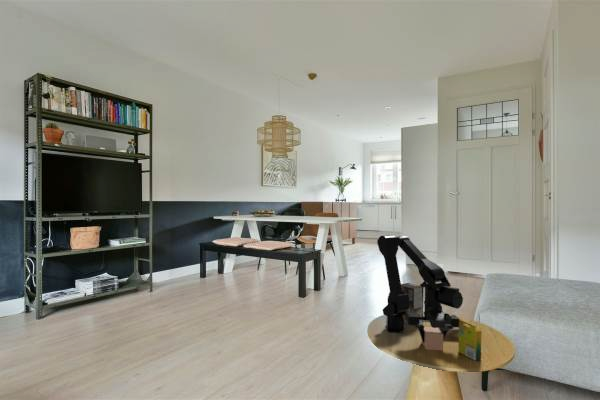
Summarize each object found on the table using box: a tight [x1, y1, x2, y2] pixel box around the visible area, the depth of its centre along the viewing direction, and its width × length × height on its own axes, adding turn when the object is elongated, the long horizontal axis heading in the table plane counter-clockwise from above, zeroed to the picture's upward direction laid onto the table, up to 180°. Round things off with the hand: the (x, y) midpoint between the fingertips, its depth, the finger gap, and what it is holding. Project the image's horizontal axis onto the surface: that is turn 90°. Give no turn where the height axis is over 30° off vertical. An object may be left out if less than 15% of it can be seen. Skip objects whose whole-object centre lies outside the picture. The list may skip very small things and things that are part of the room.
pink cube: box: [421, 326, 444, 351], centre depth 126 cm, size 6×6×6 cm
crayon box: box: [458, 319, 482, 361], centre depth 119 cm, size 7×3×12 cm, turn 21°
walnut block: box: [439, 327, 459, 340], centre depth 138 cm, size 9×9×4 cm
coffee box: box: [401, 282, 425, 323], centre depth 152 cm, size 9×6×16 cm
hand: (432, 342), depth 126 cm, fingers closed on pink cube, 6 cm apart
